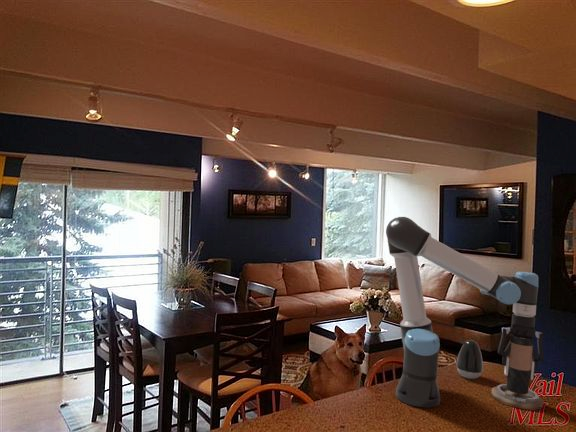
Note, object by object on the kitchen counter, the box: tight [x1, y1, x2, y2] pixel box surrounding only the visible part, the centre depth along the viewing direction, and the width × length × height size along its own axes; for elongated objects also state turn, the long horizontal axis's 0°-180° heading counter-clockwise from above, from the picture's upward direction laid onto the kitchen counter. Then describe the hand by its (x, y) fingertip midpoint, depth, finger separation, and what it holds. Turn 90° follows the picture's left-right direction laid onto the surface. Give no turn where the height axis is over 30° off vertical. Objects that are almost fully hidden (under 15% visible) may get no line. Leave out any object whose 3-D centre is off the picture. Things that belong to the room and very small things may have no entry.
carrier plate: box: [490, 383, 544, 411], centre depth 169 cm, size 17×17×3 cm
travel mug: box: [506, 334, 534, 394], centre depth 168 cm, size 8×8×20 cm
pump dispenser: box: [455, 338, 484, 380], centre depth 189 cm, size 10×10×15 cm
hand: (518, 376), depth 168 cm, fingers closed on travel mug, 8 cm apart
